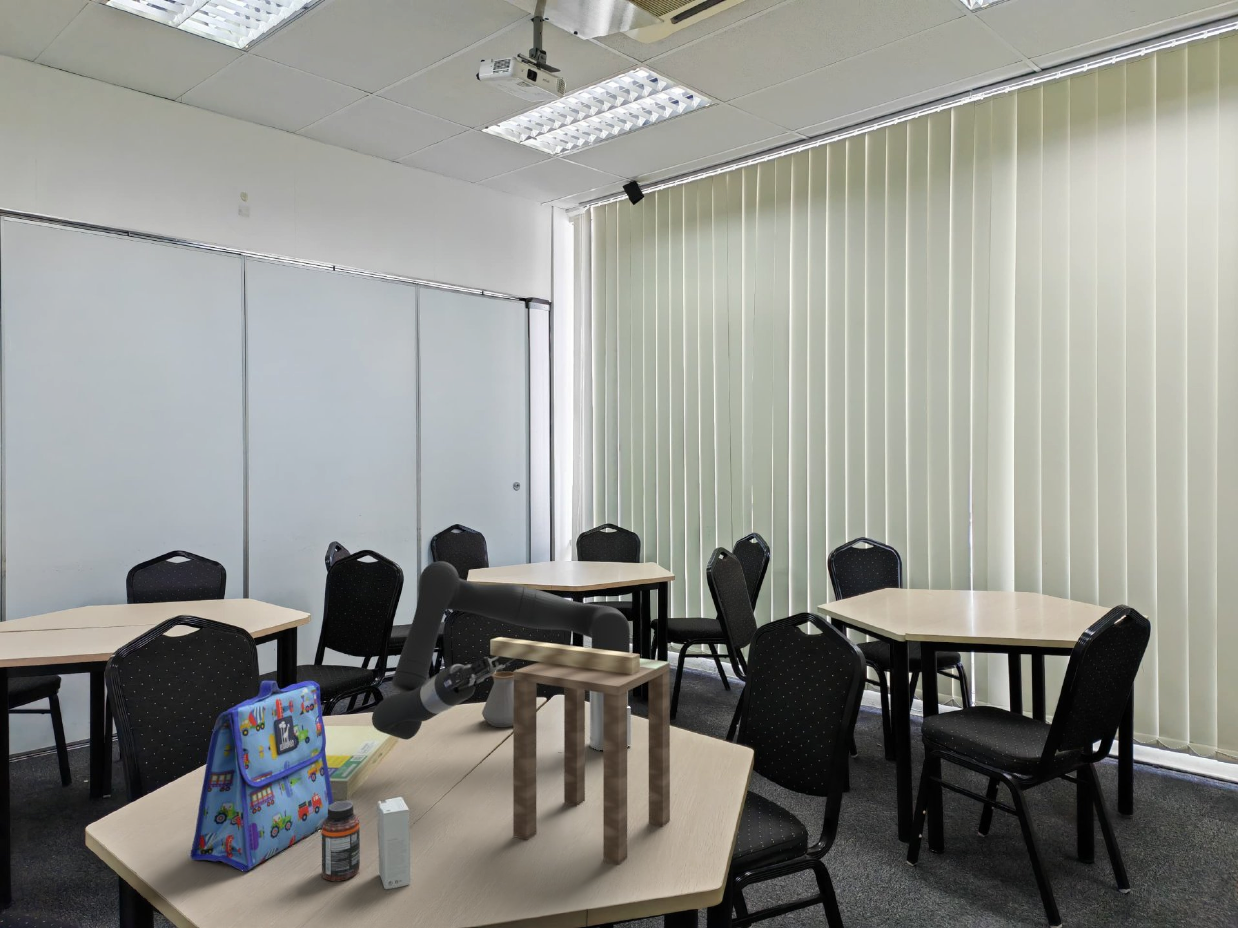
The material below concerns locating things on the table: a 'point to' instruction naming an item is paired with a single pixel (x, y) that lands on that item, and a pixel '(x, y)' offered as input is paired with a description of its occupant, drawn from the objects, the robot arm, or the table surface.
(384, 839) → the skincare box
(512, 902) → the table surface
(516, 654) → the maple rod
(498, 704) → the coffee pot
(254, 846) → the lunch bag
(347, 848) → the supplement bottle
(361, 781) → the puzzle box
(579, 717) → the walnut stand
